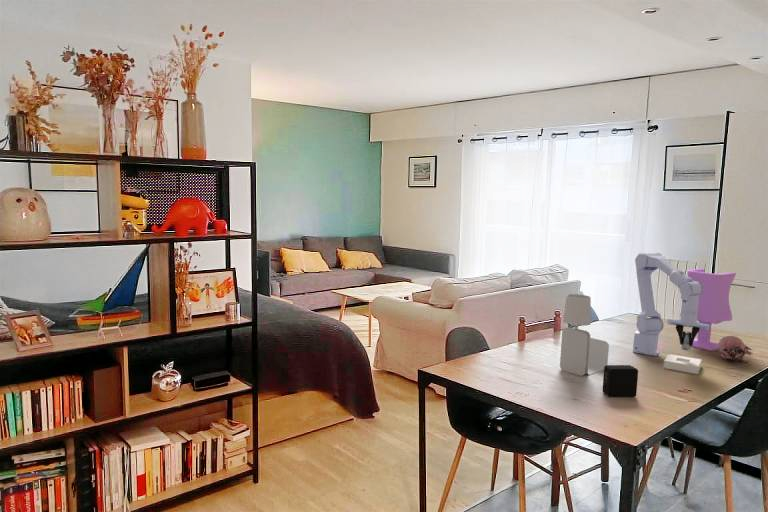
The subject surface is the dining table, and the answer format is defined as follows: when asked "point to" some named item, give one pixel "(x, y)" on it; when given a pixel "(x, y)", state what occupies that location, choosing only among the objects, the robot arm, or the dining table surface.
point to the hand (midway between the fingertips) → (686, 344)
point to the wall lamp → (581, 339)
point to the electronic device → (620, 381)
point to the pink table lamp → (711, 304)
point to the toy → (733, 348)
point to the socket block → (682, 363)
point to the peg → (686, 340)
